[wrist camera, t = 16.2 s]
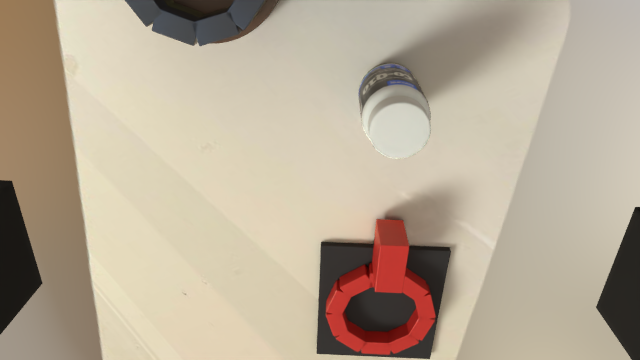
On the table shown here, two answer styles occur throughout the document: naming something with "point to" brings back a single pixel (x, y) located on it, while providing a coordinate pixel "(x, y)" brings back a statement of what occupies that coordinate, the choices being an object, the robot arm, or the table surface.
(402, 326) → the red ring
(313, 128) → the table surface
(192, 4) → the ring stand
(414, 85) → the pill bottle
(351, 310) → the rubber mat
